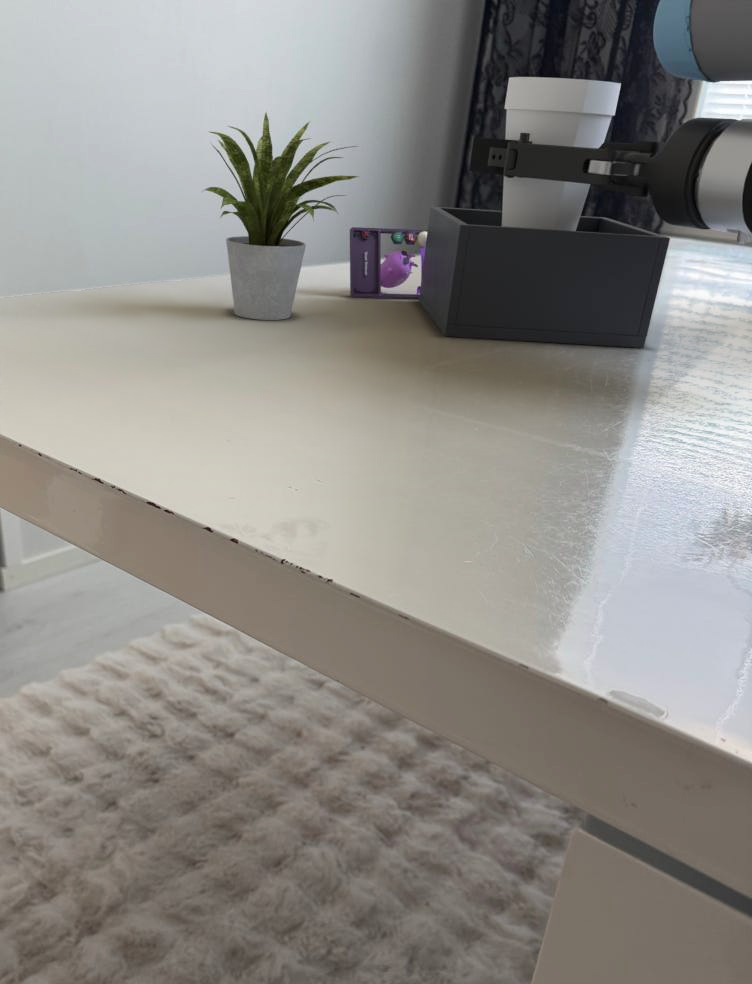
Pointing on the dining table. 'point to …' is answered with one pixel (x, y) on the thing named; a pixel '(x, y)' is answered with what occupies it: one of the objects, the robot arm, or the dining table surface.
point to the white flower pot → (554, 121)
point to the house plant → (268, 223)
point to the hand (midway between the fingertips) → (515, 156)
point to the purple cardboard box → (367, 261)
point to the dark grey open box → (540, 279)
